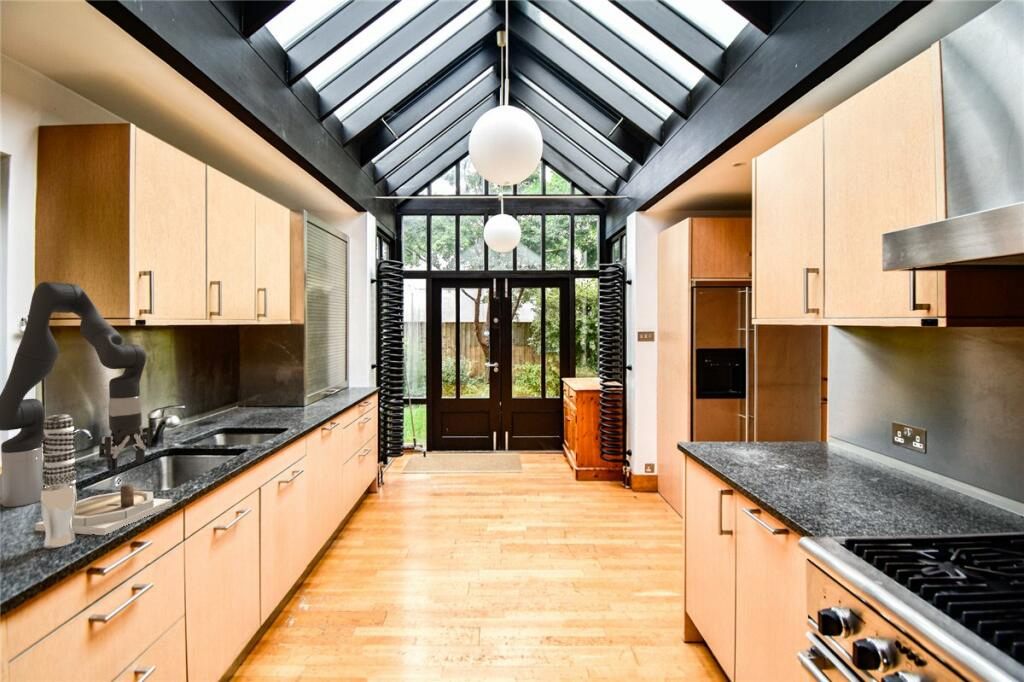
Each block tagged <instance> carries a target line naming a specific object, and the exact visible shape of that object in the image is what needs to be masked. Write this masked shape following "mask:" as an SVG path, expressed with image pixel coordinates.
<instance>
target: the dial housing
mask: <svg viewBox="0 0 1024 682" xmlns="http://www.w3.org/2000/svg"><path fill="white" fill-rule="evenodd" d="M119 495H121V491H117V492H111V493H105V494H98V495H92V496H88V497H86V498H82V499H80V500H77V506H78V505H80V504H83V503H86V502H89V501H92V500H96V499H100V498H105V497H111V496H119ZM134 495H139V496H142V497H144V502H142V503H138V504H136V505H133V506H132V507H129V508H127V509H124V510H120V511H114V512H109V513H103V514H98V515H92V516H78V515H75V518H74V523H73V530H74V534H81V535H92V534H95V535H94V536H107V535H109V534H111V533H113V531H114V532H116V531H118V530H120V529H119V528H121V527H123V526H125V527H127V526H129V525H128V524H130V525H131V523H132V524H134V523H136V522H138V520H139V521H141V520H143V519H145V518H147V516H148V517H150V516H152V515H154V514H157V513H159V512H161V511H163V510H166V509H167V508H170V507H172V506H173V499H170V498H169V499H167V498H154V491H146V490H134ZM149 515H150V516H149ZM144 517H145V518H144ZM142 518H143V519H142ZM140 519H141V520H140ZM133 522H134V523H133ZM126 525H127V526H126ZM123 528H124V527H123ZM117 529H118V530H117ZM121 529H122V528H121ZM115 530H116V531H115ZM36 531H37V532H46V531H45V526H44V522H43V520H42V521H39V522H35V532H36ZM108 533H109V534H108ZM106 534H107V535H106Z"/></svg>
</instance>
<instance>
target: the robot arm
mask: <svg viewBox="0 0 1024 682" xmlns="http://www.w3.org/2000/svg"><path fill="white" fill-rule="evenodd" d="M54 313H60V314H62V313H63V314H70V313H71V314H72V313H73V314H75V315H77V317H79V318H81V319H80V324H79V330H80V333H81V335H82V337H83V338H84V340H86V341H87V342H88V343H89V344H90V345H91V346H92V347H94V350H95V352H96V355H97V356H98V360H99V362H100V363H101V365H102V366H103V367H105V368H107V369H110V370H121V369H122V370H124V371H123V373H122V374H121V375H119V376H116V377H113V378H111V379H110V380H109V383H108V388H109V389H108V390H109V391H108V393H109V399H108V429H109V430H110V431H111V433H110V435H108V436H106V435H105V436H100V437H99V443H98V444H99V445H98V448H99V450H98V451H99V452H98V453H99V454H98V457H99V459H100V458H101V459H106V464H107V465H106V467H107V470H108V471H109V472H116V471H118V456H119V454H120V452H121V451H123V450H124V448H128V447H130V446H131V447H133V448H134V449H135V454H134V455H135V463H136V464H141V463H144V462H145V459H146V458H145V457H146V455H145V451H146V449H147V448H148V447H151V446H152V440H151V439H152V438H151V428H150V427H144V426H142V424H143V423H142V418H143V417H142V400H141V392H140V391H141V390H140V386H141V385H140V383H141V379H142V377H143V376H142V375H143V372H144V369H145V366H146V362H147V353H146V351H145V349H144V348H143V346H141V345H140V344H135V343H134V344H133V343H130V344H123V337H122V335H121V334H120V333H119V332H118V331H117V330H116V329H115V328H114V326H112V325H110V323H108V321H107V320H106V319H105V317H103V315H101V314H102V313H100V311H99V310H98V308H97V307H96V305H95V304H94V302H93V301H92V299H91V298H90V296H89V295H88V293H86V291H85V289H83V288H82V287H81V286H80V285H77V284H74V283H69V282H58V281H57V282H56V281H42V282H40V283H38V284H37V286H36V287H35V288H34V291H33V293H32V297H31V300H30V307H29V312H28V316H27V320H26V325H25V328H24V332H23V334H22V338H21V341H20V343H19V345H18V348H17V350H16V352H15V356H14V359H13V361H12V362H13V363H12V366H11V369H10V372H9V374H8V378H7V380H6V382H5V385H4V387H3V389H2V391H1V393H0V431H3V432H4V431H15V430H19V429H20V431H19V432H18V433H17V434H16V435H14V436H13V437H10V438H9V439H7V440H5V441H3V442H2V443H1V444H0V445H1V446H0V455H1V456H0V457H1V474H0V505H1V506H3V507H6V508H9V507H10V508H13V507H20V506H22V507H23V506H26V505H31V504H33V503H37V502H40V501H41V489H42V488H44V469H43V468H44V466H43V448H42V447H43V444H42V441H43V438H44V435H45V434H44V429H45V427H44V420H46V418H45V416H46V415H45V414H46V413H45V407H44V404H43V403H42V402H41V400H39V399H38V398H25V397H26V395H27V394H28V393H29V391H31V390H32V389H33V388H35V386H37V384H40V383H41V382H42V381H43V380H44V379H45V378H46V377H47V376H49V374H50V373H52V371H53V370H54V367H55V365H56V362H57V359H58V357H59V354H60V349H59V345H58V343H57V341H56V339H55V337H54V335H53V334H52V332H51V329H50V320H51V317H52V314H54Z"/></svg>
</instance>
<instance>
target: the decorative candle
mask: <svg viewBox="0 0 1024 682" xmlns="http://www.w3.org/2000/svg"><path fill="white" fill-rule="evenodd" d="M75 431H77V428H75V426H74V417H72V416H71V415H70V414H67V413H66V414H65V413H64V414H61V413H60V414H53V415H52V414H51V415H49V416H47V417H46V418H45V419H44V438H43V441H42V455H44V458H45V459H44V460H45V461H44V466H43V487H44V486H45V487H47V486H51V485H55V484H61V483H75V484H76V483H77V480H76V479H77V476H76V475H77V472H76V471H75V470H76V469H77V467H76V465H77V463H76V462H75V461H76V460H75V459H76V458H75V453H74V452H75V451H76V449H77V448H76V447H74V446H75V445H76V444H77V442H76V440H77V438H76V437H74V436H75V435H77V432H75Z"/></svg>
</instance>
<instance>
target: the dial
mask: <svg viewBox="0 0 1024 682" xmlns="http://www.w3.org/2000/svg"><path fill="white" fill-rule="evenodd" d="M119 490H120V492H121V495H119V496H111V497H105V498H100V499H96V500H92V501H89V502H86V503H83V504H80V505H78V506H77V507H76V513H75V515H78V516H92V515H98V514H103V513H109V512H114V511H120V510H124V509H127V508H129V507H132V506H133V505H136V504H138V503H142V502H144V497H142V496H139V495H134V491H135V490H134V484H132V483H131V484H129V483H128V484H124V485H121V486H120V489H119Z"/></svg>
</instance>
